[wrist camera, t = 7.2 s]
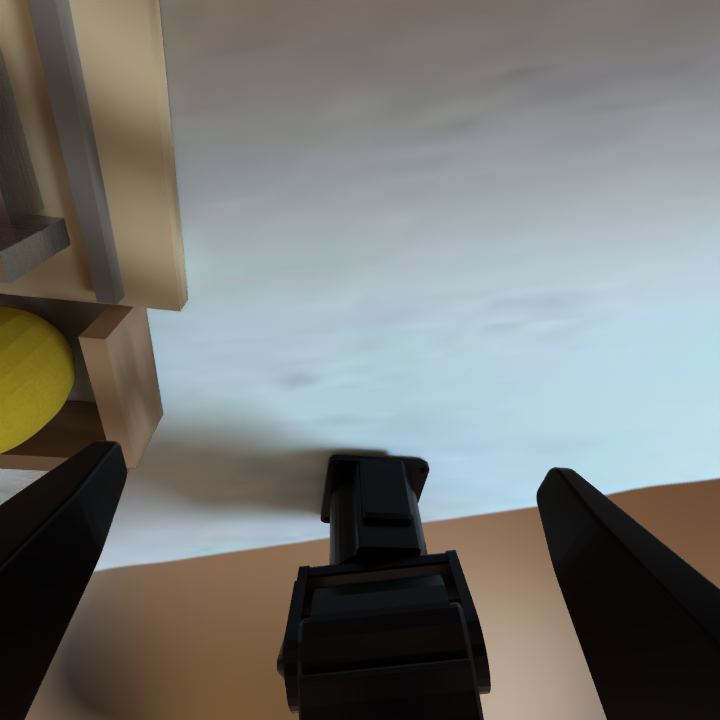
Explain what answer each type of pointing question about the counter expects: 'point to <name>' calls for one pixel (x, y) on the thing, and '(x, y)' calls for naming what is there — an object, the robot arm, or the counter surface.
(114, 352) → the open wooden crate
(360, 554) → the robot arm
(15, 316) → the lemon
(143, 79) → the wooden board with rails
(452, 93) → the counter surface
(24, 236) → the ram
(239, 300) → the counter surface
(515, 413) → the counter surface
